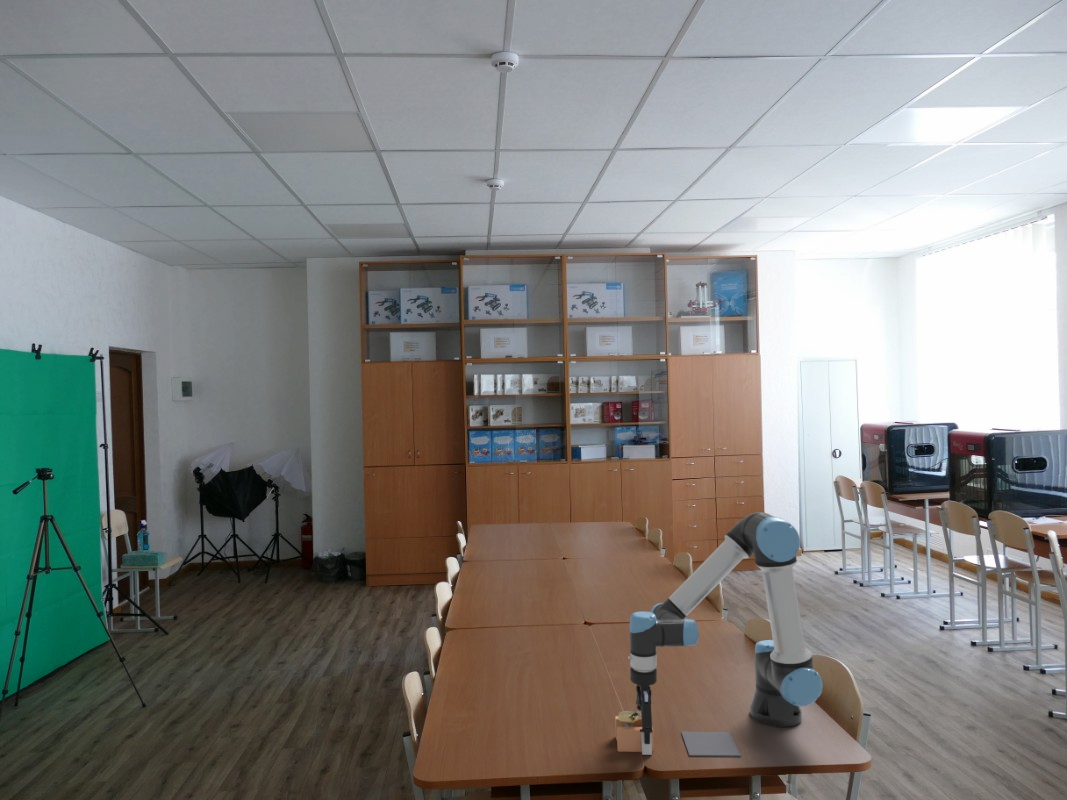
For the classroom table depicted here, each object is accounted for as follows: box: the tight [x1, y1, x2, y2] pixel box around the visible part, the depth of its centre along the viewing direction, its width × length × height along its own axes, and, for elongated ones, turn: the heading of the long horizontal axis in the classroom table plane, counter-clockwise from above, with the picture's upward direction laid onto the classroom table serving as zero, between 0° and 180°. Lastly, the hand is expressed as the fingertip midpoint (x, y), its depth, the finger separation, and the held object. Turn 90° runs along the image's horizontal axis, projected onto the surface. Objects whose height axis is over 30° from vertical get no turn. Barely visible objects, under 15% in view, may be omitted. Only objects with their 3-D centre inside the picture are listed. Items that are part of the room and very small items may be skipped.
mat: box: [680, 731, 742, 758], centre depth 204 cm, size 14×14×1 cm
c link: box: [614, 715, 655, 753], centre depth 205 cm, size 10×9×6 cm
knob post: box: [617, 710, 639, 727], centre depth 205 cm, size 6×6×8 cm
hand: (644, 743), depth 204 cm, fingers open, 12 cm apart
